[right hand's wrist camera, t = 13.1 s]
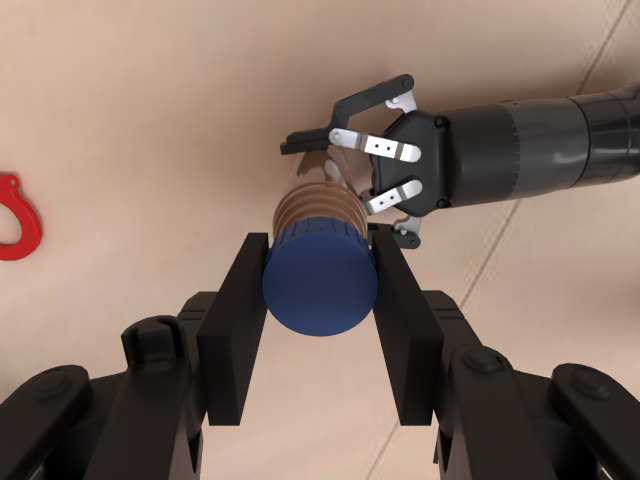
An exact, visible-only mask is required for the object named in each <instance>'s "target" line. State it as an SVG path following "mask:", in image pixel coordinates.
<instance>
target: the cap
mask: <svg viewBox="0 0 640 480" xmlns="http://www.w3.org/2000/svg"><path fill="white" fill-rule="evenodd" d="M264 264H265V265H266V266H265V269H264V272H263V276H262V285H263V297H264V301H265V303H266V305H267V307H268V309H269V311H270V312H271V314H272V315H273V316H274V317H275V318H276V319H277V320H278V321H279V322H280V323H281V324H283V325H284V326H286V327H287V328H289V329H291V330H293V331H295V332H298V333H300V334H304V335H309V336H320V337H322V336H331V335H336V334H340V333H343V332H345V331H347V330H349V329H351V328H353V327H355V326H356V325H357V324H359V323H360V322H361V321H362V320H363V319H364V318H365V317H366V316H367V315H368V314H369V312H370V311H371V309H372V308H373V306H374V303H375V301H376V298H377V289H378V276H377V272H376V268H375V266H376V263H375V259H374V256H373V253H372V250H371V249H370V250H369V246H368V243H367V240H366V238H365V239H364V238H363V237H362V235H361V234H360V233H359V231H358V229H354V228H353V227H352V226H350V225H349V224H348V223H347V222H343V221H340V220H337V219H335V218H334V217H333V218H329V217H322V216H320V217H311V218H309V217H306V219H303V220H300V221H297V222H296V221H295V222H294V223H293V224H292V225H290V226H289V227H287V228H286V229H285V228H284V229H283V231H282V232H281V233H280V235H279V236H278V237H277V238H276V237H275V239H274V242H273V245H272V247H271V248H269V251H268V254H267V257H266V260H265V263H264Z"/></svg>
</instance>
